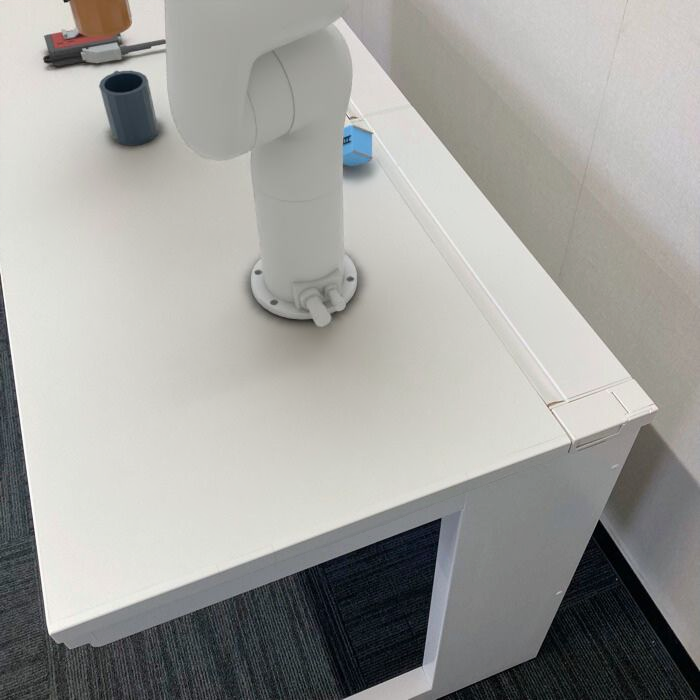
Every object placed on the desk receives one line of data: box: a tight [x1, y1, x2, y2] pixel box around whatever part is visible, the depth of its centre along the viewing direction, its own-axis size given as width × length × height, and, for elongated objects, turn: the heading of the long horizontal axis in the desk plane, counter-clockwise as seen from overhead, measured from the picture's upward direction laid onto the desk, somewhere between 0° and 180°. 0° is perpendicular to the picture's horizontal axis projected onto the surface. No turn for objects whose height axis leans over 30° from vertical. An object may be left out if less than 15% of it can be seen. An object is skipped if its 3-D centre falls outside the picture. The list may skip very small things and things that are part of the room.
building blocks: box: [343, 124, 374, 167], centre depth 107 cm, size 8×8×12 cm
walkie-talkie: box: [42, 27, 166, 67], centre depth 128 cm, size 9×4×20 cm
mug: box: [98, 70, 159, 146], centre depth 111 cm, size 10×7×8 cm
